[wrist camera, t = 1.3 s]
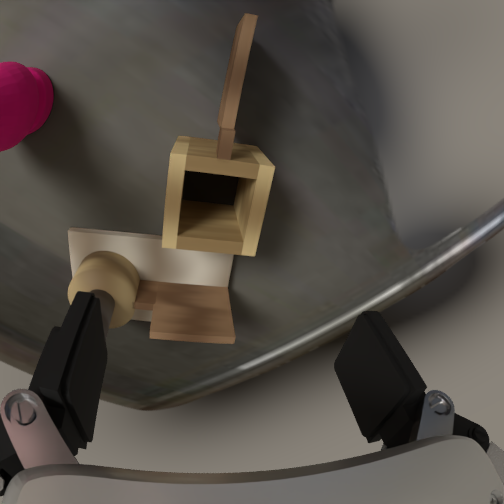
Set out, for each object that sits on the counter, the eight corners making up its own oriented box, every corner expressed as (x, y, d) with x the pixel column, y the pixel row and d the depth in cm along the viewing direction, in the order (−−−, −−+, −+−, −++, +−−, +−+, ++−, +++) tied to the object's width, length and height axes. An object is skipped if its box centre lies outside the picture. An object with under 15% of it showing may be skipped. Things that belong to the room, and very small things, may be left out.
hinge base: (80, 308, 31) (54, 380, 22) (70, 227, 26) (26, 292, 17) (219, 321, 34) (229, 397, 26) (234, 242, 30) (250, 315, 21)
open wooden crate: (199, 24, 20) (198, 2, 14) (280, 38, 21) (307, 24, 15) (169, 209, 27) (161, 247, 21) (242, 216, 29) (254, 256, 23)
